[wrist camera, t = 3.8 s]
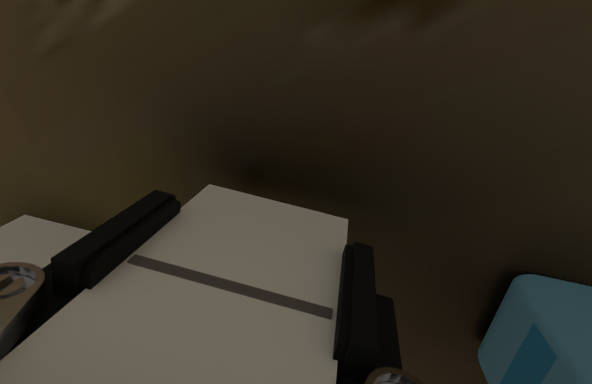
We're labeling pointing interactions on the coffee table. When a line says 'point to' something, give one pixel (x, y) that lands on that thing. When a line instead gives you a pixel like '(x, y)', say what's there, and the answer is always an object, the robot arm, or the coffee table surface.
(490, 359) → the data package
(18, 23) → the coffee table surface
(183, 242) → the domino
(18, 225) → the domino
